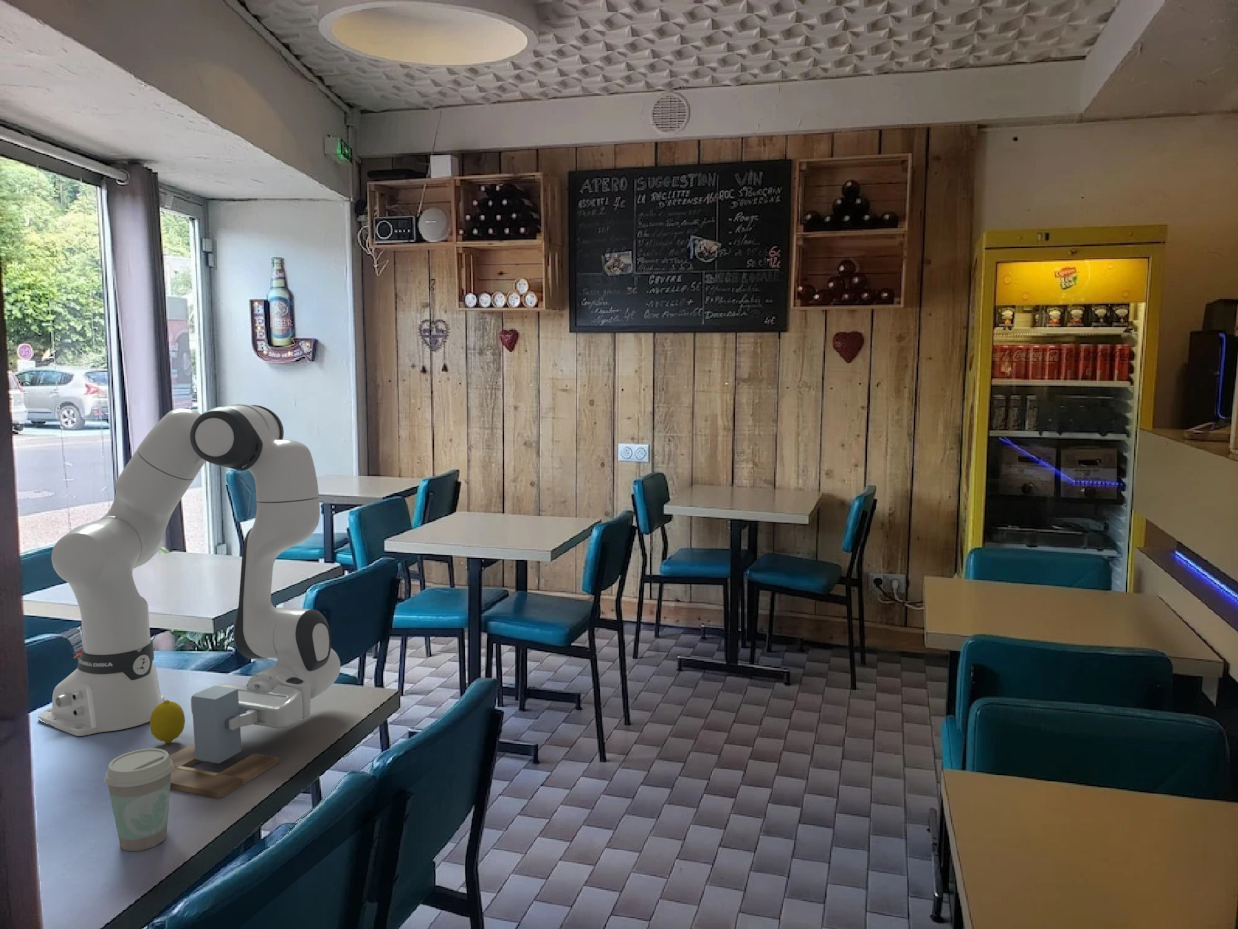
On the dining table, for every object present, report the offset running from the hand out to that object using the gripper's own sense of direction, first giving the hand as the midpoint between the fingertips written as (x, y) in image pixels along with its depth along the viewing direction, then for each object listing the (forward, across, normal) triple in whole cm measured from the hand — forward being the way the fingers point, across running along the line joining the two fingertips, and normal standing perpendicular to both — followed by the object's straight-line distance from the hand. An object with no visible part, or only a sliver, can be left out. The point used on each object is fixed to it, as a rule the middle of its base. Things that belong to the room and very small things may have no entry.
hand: (212, 723), depth 144 cm
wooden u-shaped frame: (+2, 0, +8) cm, 8 cm away
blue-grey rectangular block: (-1, 0, +6) cm, 6 cm away
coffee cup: (+21, +8, +8) cm, 24 cm away
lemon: (-5, -15, +8) cm, 18 cm away
